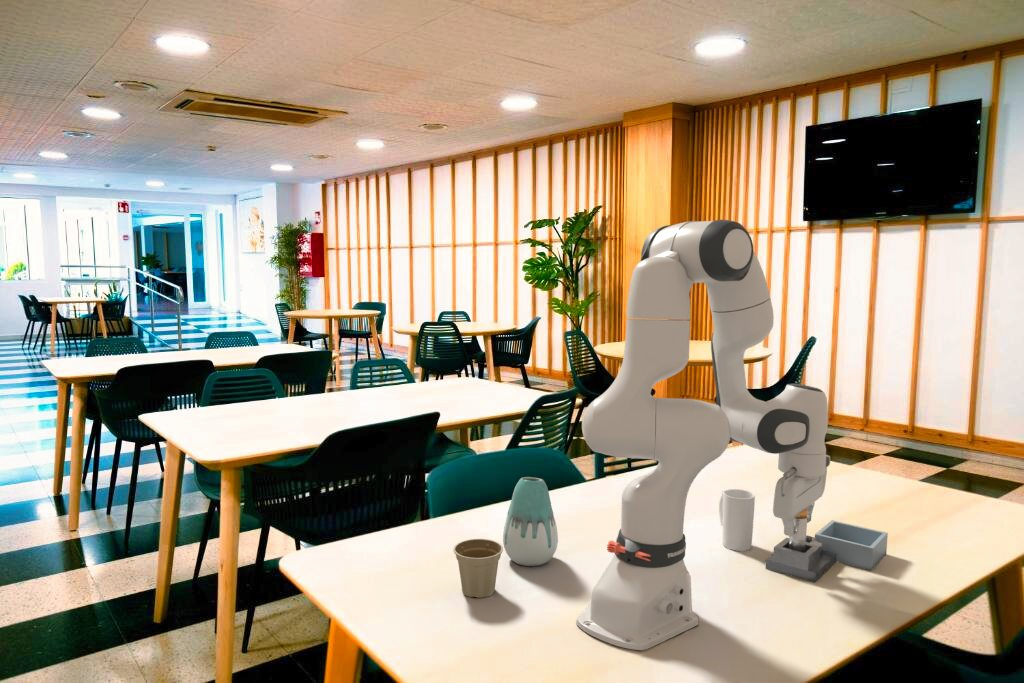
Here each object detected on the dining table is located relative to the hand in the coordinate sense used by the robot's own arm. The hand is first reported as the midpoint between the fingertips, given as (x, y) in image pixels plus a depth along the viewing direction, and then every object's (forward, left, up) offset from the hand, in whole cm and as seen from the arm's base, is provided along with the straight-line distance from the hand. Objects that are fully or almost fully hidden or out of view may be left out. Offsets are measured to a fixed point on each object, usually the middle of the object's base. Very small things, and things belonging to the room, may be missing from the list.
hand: (797, 528), depth 146 cm
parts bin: (+16, -6, -9) cm, 19 cm away
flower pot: (-51, +42, -9) cm, 67 cm away
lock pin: (0, 0, -7) cm, 7 cm away
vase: (-33, +44, -9) cm, 56 cm away
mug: (+5, +16, -9) cm, 19 cm away
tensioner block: (+3, 0, -9) cm, 9 cm away
